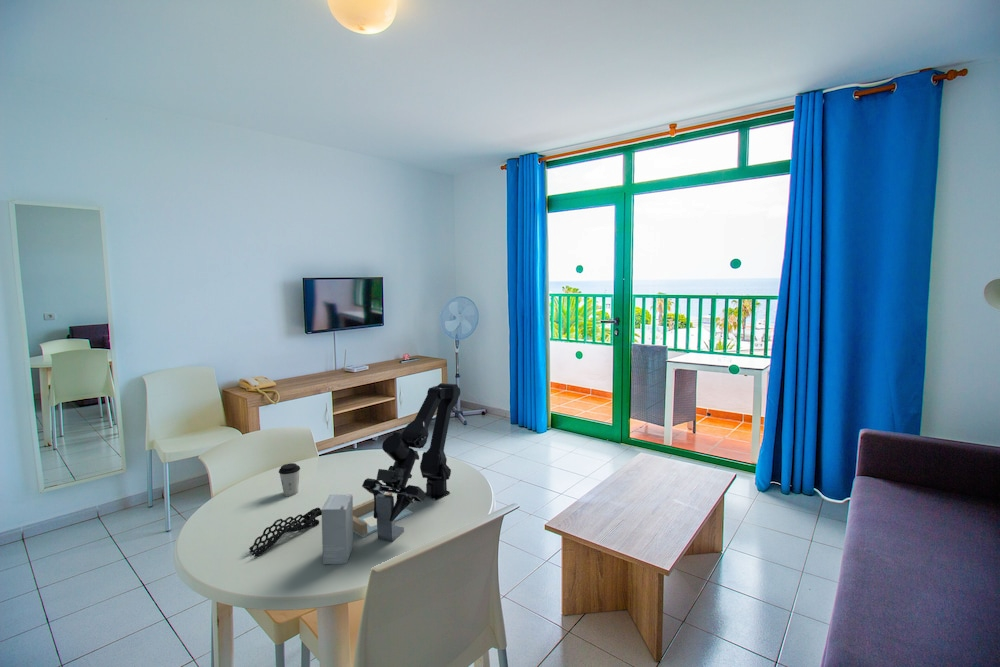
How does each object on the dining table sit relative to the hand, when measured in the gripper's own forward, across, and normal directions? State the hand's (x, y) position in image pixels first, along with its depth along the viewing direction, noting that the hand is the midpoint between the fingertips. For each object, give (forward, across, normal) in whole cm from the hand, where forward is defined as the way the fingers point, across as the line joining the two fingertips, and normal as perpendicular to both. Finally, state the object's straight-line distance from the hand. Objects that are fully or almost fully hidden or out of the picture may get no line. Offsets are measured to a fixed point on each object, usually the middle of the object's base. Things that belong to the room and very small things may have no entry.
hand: (382, 519), depth 131 cm
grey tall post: (+2, 0, +7) cm, 7 cm away
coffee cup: (-6, -49, +16) cm, 52 cm away
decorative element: (+10, -28, 0) cm, 30 cm away
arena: (-3, -10, +12) cm, 16 cm away
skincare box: (+12, -7, -2) cm, 14 cm away
